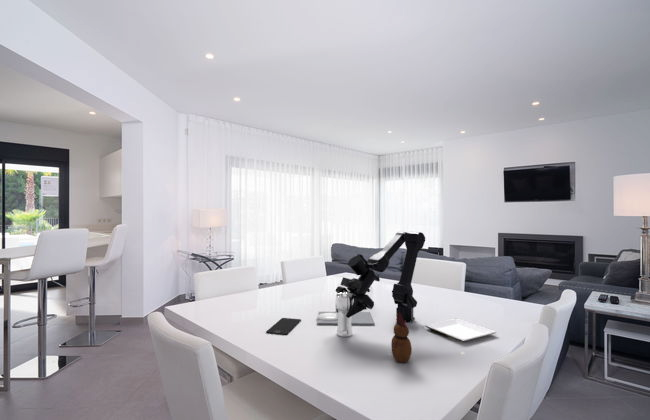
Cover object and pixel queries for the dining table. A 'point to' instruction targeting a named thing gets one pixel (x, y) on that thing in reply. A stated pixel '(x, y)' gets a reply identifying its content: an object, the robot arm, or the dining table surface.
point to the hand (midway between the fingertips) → (341, 314)
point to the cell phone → (283, 326)
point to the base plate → (357, 319)
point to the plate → (460, 329)
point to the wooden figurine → (401, 341)
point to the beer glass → (344, 314)
